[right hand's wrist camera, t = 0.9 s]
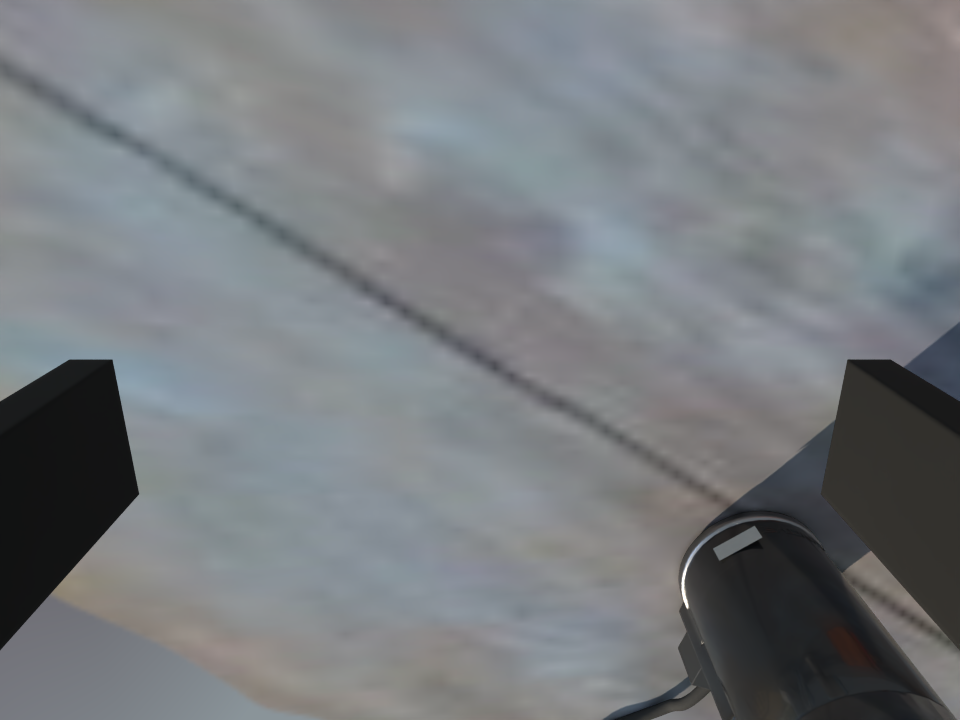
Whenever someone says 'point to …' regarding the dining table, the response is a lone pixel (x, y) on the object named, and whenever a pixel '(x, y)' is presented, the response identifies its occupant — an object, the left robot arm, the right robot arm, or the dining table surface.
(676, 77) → the dining table surface
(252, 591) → the dining table surface
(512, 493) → the dining table surface
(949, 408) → the right robot arm
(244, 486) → the dining table surface
